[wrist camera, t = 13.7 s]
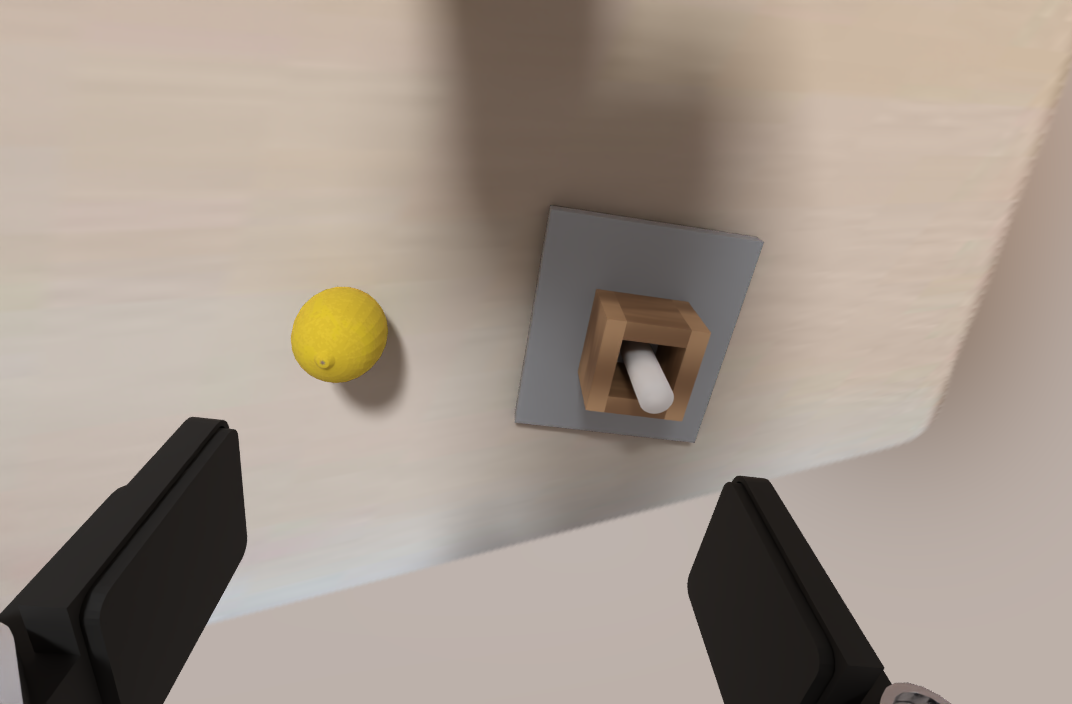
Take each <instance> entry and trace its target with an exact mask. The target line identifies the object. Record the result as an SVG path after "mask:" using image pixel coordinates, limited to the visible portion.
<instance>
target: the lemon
mask: <svg viewBox="0 0 1072 704" xmlns="http://www.w3.org/2000/svg"><path fill="white" fill-rule="evenodd" d="M387 334H388V327H387V320H386V317H385V315H384V312H383V310H382V308H381V307H380V305H379V304H378V303H377V302H376V300H375V299H373V298H372V297H371V296H370V295H368V294H367V293H365V292H363V291H361V290H358V289H355V288H351V287H335V288H331V289H326V290H324V291H322V292H320V293H318V294H316V295H314V296H313V297H312V298H311V299H310V300H309V301H308V302H307V303H305V304H304V305H303V307H302V308H301V309H300V311H299V313H298V315H297V317H296V319H295V321H294V324H293V329H292V334H291V344H292V351H293V354H294V356H295V359H296V360H297V362H298V363H299V365H300V366H301V367H302V368H303V369H304V370H305V371H306V372H307V373H308V374H309V375H311V376H313V377H315V378H316V379H319V380H322V381H325V382H333V383H339V382H347V381H350V380H353V379H355V378H358V377H359V376H361V375H362V374H364V373H365V372H367V371H368V370H370V369H371V368H372V366H373V365H374V364H375V363H376V362H377V361H378V359H379V358H380V356H381V355H382V352H383V350H384V348H385V345H386V342H387Z"/></svg>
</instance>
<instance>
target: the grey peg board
mask: <svg viewBox="0 0 1072 704" xmlns="http://www.w3.org/2000/svg"><path fill="white" fill-rule="evenodd" d="M763 243H764V242H763V241H762V240H760V239H759V238H758V237H753V236H747V235H740V234H734V233H727V232H721V231H714V230H708V229H702V228H695V227H689V226H682V225H676V224H669V223H663V222H656V221H650V220H643V219H637V218H630V217H624V216H617V215H611V214H604V213H598V212H591V211H585V210H578V209H572V208H565V207H559V206H552V205H550V209H549V215H548V221H547V227H546V233H545V239H544V245H543V251H542V256H541V262H540V268H539V274H538V280H537V286H536V292H535V298H534V304H533V309H532V315H531V321H530V327H529V333H528V339H527V345H526V351H525V356H524V362H523V368H522V374H521V380H520V386H519V392H518V398H517V403H516V409H515V423H524V424H533V425H542V426H551V427H560V428H568V429H577V430H586V431H595V432H604V433H613V434H622V435H630V436H639V437H648V438H657V439H666V440H675V441H683V442H692V443H695V440H696V437H697V434H698V431H699V428H700V425H701V422H702V420H703V417H704V414H705V411H706V408H707V405H708V402H709V399H710V396H711V394H712V391H713V388H714V385H715V382H716V379H717V376H718V373H719V370H720V368H721V365H722V362H723V359H724V356H725V353H726V350H727V347H728V345H729V342H730V339H731V336H732V333H733V330H734V327H735V324H736V321H737V319H738V316H739V313H740V310H741V307H742V304H743V301H744V298H745V295H746V293H747V290H748V287H749V284H750V281H751V278H752V275H753V272H754V269H755V267H756V264H757V261H758V258H759V255H760V252H761V249H762V246H763ZM596 289H601V290H608V291H615V292H622V293H629V294H636V295H643V296H650V297H658V298H665V299H672V300H679V301H686V302H689V303H690V305H691V306H692V308H693V309H694V310H695V312H696V313H697V314H698V316H699V317H700V318H701V320H702V321H703V323H704V324H705V325H706V327H707V328H708V329H709V331H710V332H711V335H710V338H709V341H708V344H707V347H706V350H705V353H704V356H703V360H702V363H701V366H700V369H699V372H698V375H697V378H696V381H695V384H694V387H693V390H692V393H691V396H690V399H689V402H688V405H687V408H686V411H685V414H684V417H683V420H682V421H674V420H665V419H657V418H648V417H640V416H631V415H623V414H614V413H606V412H598V411H589V410H586V409H585V404H584V399H583V395H582V390H581V385H580V380H579V376H578V369H579V364H580V360H581V355H582V351H583V346H584V342H585V337H586V333H587V328H588V324H589V319H590V315H591V310H592V306H593V301H594V297H595V292H596ZM657 348H658V344H651V343H643V342H636V341H628V340H622V344H621V348H620V352H619V356H618V360H617V362H621V363H624V364H625V366H626V369H627V372H628V375H629V377H630V380H631V383H632V385H633V388H634V391H635V393H636V396H637V399H638V401H639V404H640V406H641V408H642V409H643V410H644V411H646V412H648V413H652V414H657V413H661V412H664V411H666V410H667V409H668V408H669V407H670V406H671V405H672V403H673V400H674V394H673V391H672V389H671V387H670V385H669V383H668V381H667V379H666V377H665V375H664V373H663V371H662V369H661V367H660V365H659V363H658V361H657V359H656V356H655V355H656V351H657Z"/></svg>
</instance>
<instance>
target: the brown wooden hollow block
mask: <svg viewBox="0 0 1072 704" xmlns="http://www.w3.org/2000/svg"><path fill="white" fill-rule="evenodd" d="M710 335H711V332H710V331H709V329H708V328H707V327H706V325H705V324H704V323H703V321H702V320H701V318H700V317H699V316H698V314H697V313H696V312H695V310H694V309H693V308H692V306H691V305H690V303H689V302H686V301H679V300H672V299H665V298H658V297H650V296H643V295H636V294H629V293H622V292H615V291H608V290H601V289H596V292H595V297H594V301H593V306H592V310H591V315H590V319H589V324H588V328H587V333H586V337H585V342H584V346H583V351H582V355H581V360H580V364H579V369H578V376H579V380H580V385H581V390H582V395H583V399H584V404H585V409H586V410H589V411H598V412H606V413H614V414H623V415H631V416H640V417H648V418H657V419H665V420H674V421H682V420H683V417H684V414H685V411H686V408H687V405H688V402H689V399H690V396H691V393H692V390H693V387H694V384H695V381H696V378H697V375H698V372H699V369H700V366H701V363H702V360H703V356H704V353H705V350H706V347H707V344H708V341H709V338H710ZM622 340H628V341H636V342H643V343H651V344H658V348H657V351H656V355H655V356H656V359H657V361H658V363H659V365H660V367H661V369H662V371H663V373H664V375H665V377H666V379H667V381H668V383H669V385H670V387H671V389H672V391H673V394H674V400H673V403H672V405H671V406H670V407H669V408H668V409H667V410H666V411H664V412H661V413H657V414H652V413H648V412H646V411H644V410H643V409H642V408H641V406H640V404H639V401H638V399H637V396H636V393H635V391H634V388H633V385H632V383H631V380H630V377H629V375H628V372H627V369H626V366H625V364H624V363H621V362H617V360H618V356H619V352H620V348H621V344H622Z"/></svg>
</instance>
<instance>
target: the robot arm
mask: <svg viewBox="0 0 1072 704" xmlns="http://www.w3.org/2000/svg"><path fill="white" fill-rule="evenodd" d="M246 545H247V530H246V519H245V507H244V496H243V485H242V473H241V462H240V451H239V439H238V433H237V431H236V430H234V429H229V426H228V424H227V422H226V421H224V420H218V419H208V418H199V417H190V418H188V419H187V420H186V421H185V422H184V423H183V424H182V425H181V426H180V427H179V428H178V429H177V431H176V432H175V433H174V434H173V435H172V436H171V437H170V438H169V439H168V440H167V442H166V443H165V444H164V445H163V446H162V447H161V448H160V449H159V450H158V451H157V453H156V454H155V455H154V456H153V457H152V458H151V459H150V460H149V461H148V462H147V463H146V465H145V466H144V467H143V468H142V469H141V470H140V471H139V472H138V473H137V474H136V476H135V477H134V478H133V479H132V480H131V481H130V482H129V483H128V484H127V485H126V486H123V487H120V488H118V489H117V490H116V491H115V492H113V493H112V494H111V495H110V496H109V497H108V498H107V499H106V500H105V502H104V503H103V504H102V505H101V506H100V507H99V508H98V509H97V510H96V511H95V512H94V513H93V514H92V516H91V517H90V518H89V519H88V520H87V521H86V522H85V523H84V524H83V525H82V526H81V527H80V528H79V530H78V531H77V532H76V533H75V534H74V535H73V536H72V537H71V538H70V539H69V540H68V541H67V542H66V544H65V545H64V546H63V547H62V548H61V549H60V550H59V551H58V552H57V553H56V554H55V555H54V556H53V558H52V559H51V560H50V561H49V562H48V563H47V564H46V565H45V566H44V567H43V568H42V569H41V570H40V572H39V573H38V574H37V575H36V576H35V577H34V578H33V579H32V580H31V581H30V582H29V583H28V584H27V586H26V587H25V588H24V589H23V590H22V591H21V592H20V593H19V594H18V595H17V596H16V597H15V598H14V600H13V601H12V602H11V603H10V604H9V605H8V606H7V607H6V608H5V609H4V610H3V611H2V612H1V614H0V704H163V703H164V701H165V699H166V698H167V696H168V694H169V692H170V690H171V688H172V686H173V685H174V683H175V681H176V679H177V677H178V675H179V674H180V672H181V670H182V668H183V666H184V664H185V663H186V661H187V659H188V657H189V655H190V653H191V651H192V650H193V648H194V646H195V644H196V642H197V641H198V638H199V637H200V635H201V633H202V631H203V630H204V628H205V626H206V624H207V622H208V620H209V619H210V617H211V615H212V613H213V611H214V609H215V607H216V606H217V604H218V602H219V600H220V598H221V596H222V595H223V593H224V591H225V589H226V587H227V585H228V584H229V582H230V580H231V578H232V576H233V574H234V573H235V571H236V569H237V567H238V565H239V563H240V562H241V560H242V558H243V555H244V553H245V549H246ZM687 584H688V586H687V587H688V594H689V598H690V601H691V604H692V607H693V610H694V613H695V616H696V619H697V622H698V626H699V629H700V631H701V635H702V638H703V641H704V644H705V647H706V650H707V653H708V656H709V659H710V662H711V665H712V668H713V671H714V674H715V677H716V680H717V683H718V686H719V689H720V692H721V695H722V698H723V701H724V704H951V703H949V702H948V701H947V700H945V699H944V698H943V697H941V696H940V695H938V694H936V693H934V692H932V691H930V690H928V689H926V688H924V687H922V686H918V685H915V684H911V683H894V684H891V682H890V681H889V679H888V677H887V676H886V674H885V672H884V671H883V670H884V666H883V665H882V663H881V661H880V660H879V658H878V657H877V655H876V653H875V652H874V650H873V649H872V647H871V645H870V644H869V642H868V641H867V639H866V637H865V635H864V634H863V632H862V631H861V629H860V627H859V626H858V624H857V622H856V621H855V619H854V617H853V616H852V614H851V613H850V611H849V609H848V608H847V606H846V605H845V603H844V601H843V600H842V598H841V596H840V595H839V593H838V591H837V590H836V588H835V587H834V585H833V583H832V582H831V580H830V578H829V577H828V575H827V574H826V572H825V570H824V569H823V567H822V566H821V564H820V562H819V561H818V559H817V557H816V556H815V554H814V552H813V551H812V549H811V547H810V546H809V544H808V543H807V541H806V539H805V538H804V536H803V535H802V533H801V531H800V530H799V528H798V526H797V525H796V523H795V522H794V520H793V518H792V517H791V515H790V513H789V512H788V510H787V508H786V507H785V505H784V504H783V502H782V500H781V499H780V497H779V495H778V494H777V492H776V491H775V489H774V487H773V486H772V484H771V483H770V482H769V480H767V479H765V478H756V477H747V476H736V477H735V478H734V479H733V481H732V482H727V483H726V484H725V485H724V487H723V489H722V492H721V495H720V497H719V500H718V502H717V505H716V507H715V510H714V513H713V515H712V518H711V521H710V523H709V526H708V528H707V531H706V533H705V536H704V538H703V541H702V543H701V546H700V549H699V551H698V553H697V556H696V559H695V561H694V564H693V566H692V569H691V571H690V574H689V577H688V583H687Z"/></svg>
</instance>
